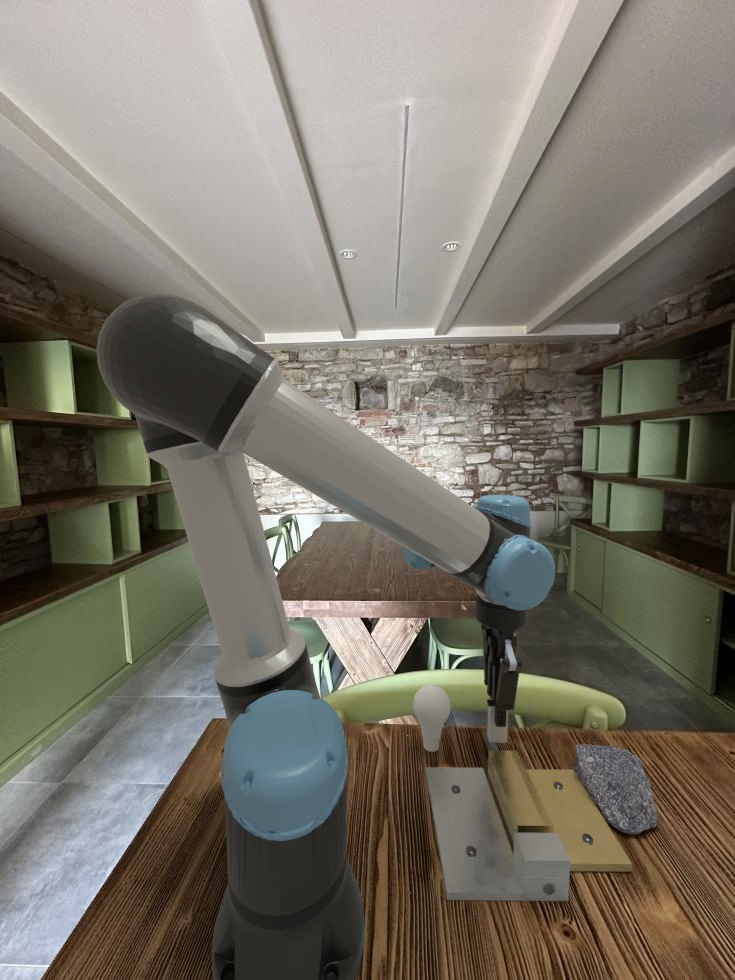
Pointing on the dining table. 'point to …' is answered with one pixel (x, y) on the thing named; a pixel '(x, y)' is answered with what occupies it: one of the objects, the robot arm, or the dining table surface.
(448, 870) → the zinc leaf
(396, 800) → the dining table surface
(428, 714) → the lightbulb
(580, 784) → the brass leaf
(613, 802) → the rock
